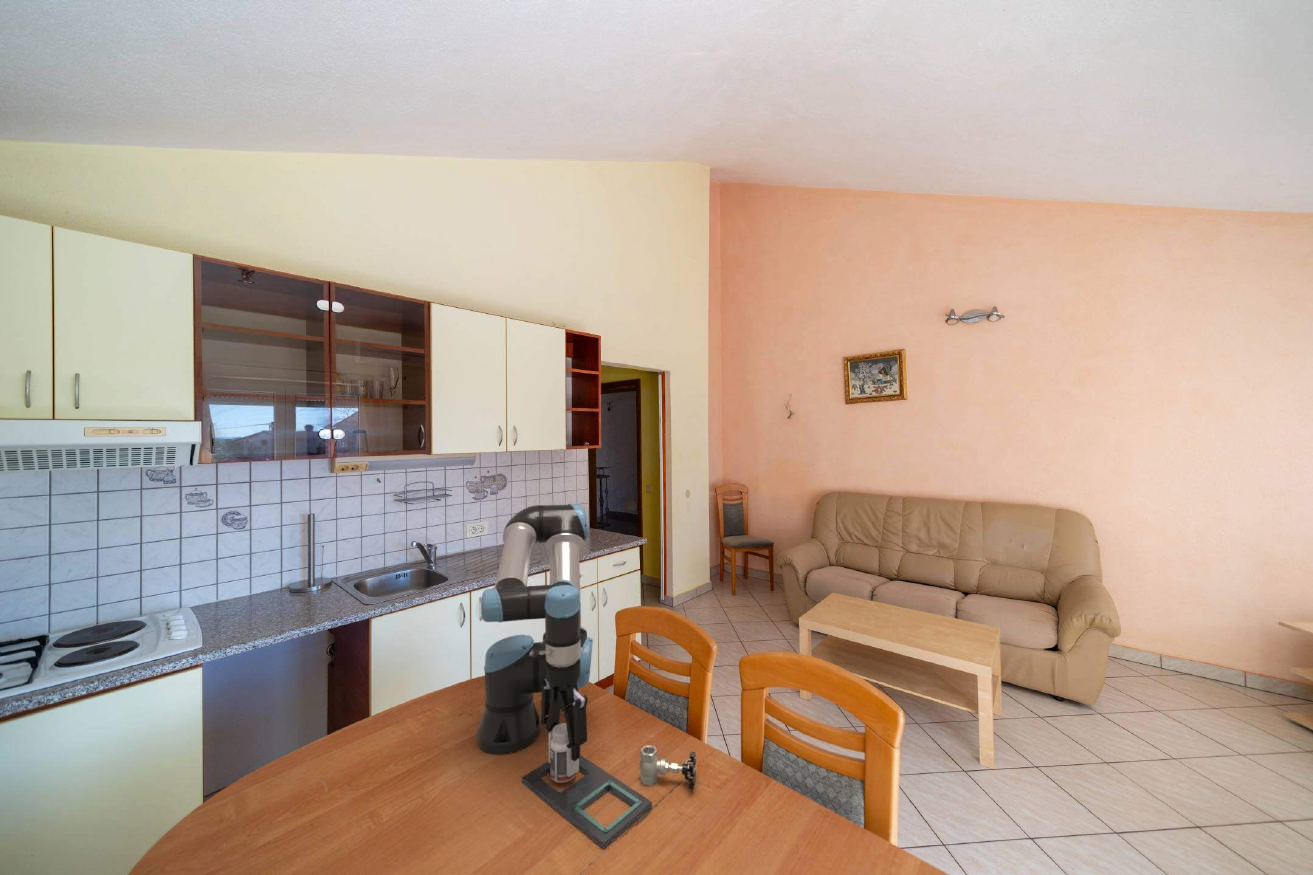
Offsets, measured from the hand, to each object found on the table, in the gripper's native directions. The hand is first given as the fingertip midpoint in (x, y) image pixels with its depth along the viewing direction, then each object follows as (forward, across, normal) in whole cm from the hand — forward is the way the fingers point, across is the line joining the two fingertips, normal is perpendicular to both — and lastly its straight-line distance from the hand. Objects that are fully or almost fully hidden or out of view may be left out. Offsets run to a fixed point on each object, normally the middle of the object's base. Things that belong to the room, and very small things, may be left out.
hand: (563, 765), depth 104 cm
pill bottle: (+2, 0, 0) cm, 2 cm away
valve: (+3, +18, +14) cm, 23 cm away
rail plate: (+3, +7, 0) cm, 8 cm away
